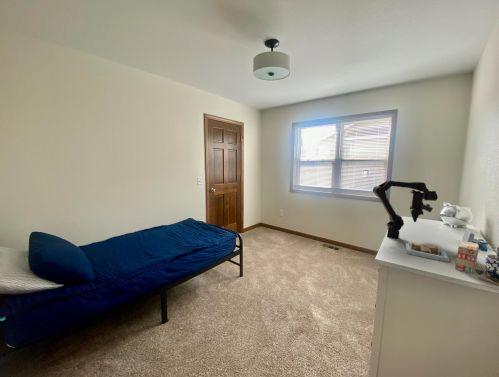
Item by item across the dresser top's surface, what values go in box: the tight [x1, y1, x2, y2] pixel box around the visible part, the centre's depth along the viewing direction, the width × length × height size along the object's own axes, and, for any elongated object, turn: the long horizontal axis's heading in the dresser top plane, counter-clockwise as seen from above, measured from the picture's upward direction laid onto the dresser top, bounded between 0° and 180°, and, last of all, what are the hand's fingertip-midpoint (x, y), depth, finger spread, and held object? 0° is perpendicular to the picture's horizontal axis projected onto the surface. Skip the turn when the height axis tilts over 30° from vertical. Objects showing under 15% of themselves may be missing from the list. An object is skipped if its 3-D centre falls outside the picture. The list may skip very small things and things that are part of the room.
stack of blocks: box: [454, 240, 480, 275], centre depth 109 cm, size 21×6×12 cm, turn 130°
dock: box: [405, 242, 450, 263], centre depth 123 cm, size 18×14×2 cm
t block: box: [410, 241, 439, 255], centre depth 125 cm, size 12×12×3 cm
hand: (414, 221), depth 147 cm, fingers closed
